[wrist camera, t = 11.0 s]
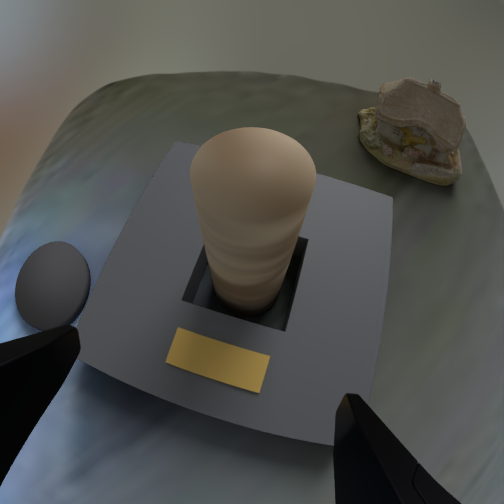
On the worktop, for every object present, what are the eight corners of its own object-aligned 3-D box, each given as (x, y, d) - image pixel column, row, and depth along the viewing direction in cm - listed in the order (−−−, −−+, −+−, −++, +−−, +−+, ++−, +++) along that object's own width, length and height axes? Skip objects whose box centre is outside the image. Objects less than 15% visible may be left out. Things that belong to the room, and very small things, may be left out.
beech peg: (246, 330, 22) (252, 246, 10) (200, 283, 23) (165, 167, 12) (293, 285, 23) (340, 172, 12) (247, 243, 25) (253, 113, 13)
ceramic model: (343, 148, 31) (369, 73, 22) (362, 102, 36) (382, 41, 27) (452, 202, 29) (499, 143, 20) (452, 146, 33) (484, 94, 24)
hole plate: (341, 443, 18) (356, 449, 15) (85, 359, 20) (65, 352, 17) (380, 216, 27) (393, 196, 24) (179, 163, 29) (175, 139, 26)
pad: (68, 346, 20) (61, 344, 19) (10, 310, 21) (3, 307, 20) (105, 261, 24) (100, 255, 23) (45, 237, 25) (40, 232, 24)
